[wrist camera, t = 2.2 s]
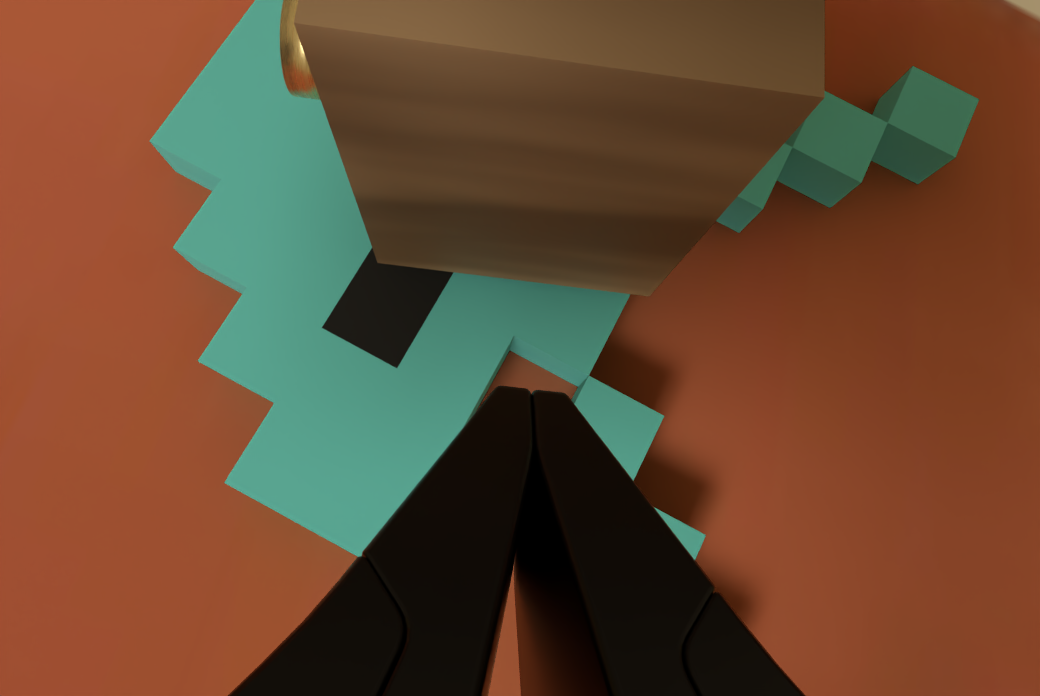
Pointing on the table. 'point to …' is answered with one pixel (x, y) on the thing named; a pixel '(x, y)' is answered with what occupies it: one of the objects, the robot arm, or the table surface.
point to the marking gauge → (553, 124)
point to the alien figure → (425, 287)
